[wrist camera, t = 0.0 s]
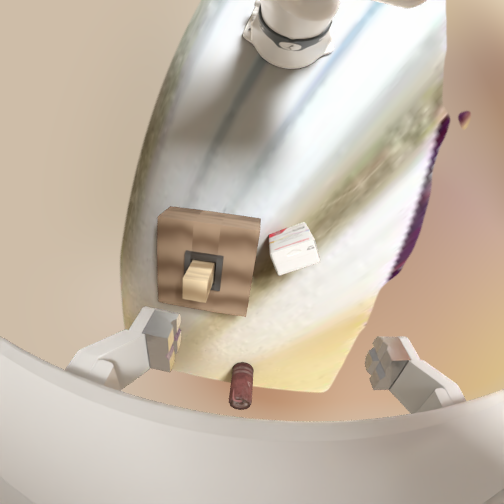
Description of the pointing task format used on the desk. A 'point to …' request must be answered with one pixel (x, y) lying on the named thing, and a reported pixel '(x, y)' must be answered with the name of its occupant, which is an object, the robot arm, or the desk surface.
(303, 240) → the ink box
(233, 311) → the sleeve block
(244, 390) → the can
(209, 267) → the peg
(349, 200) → the desk surface
